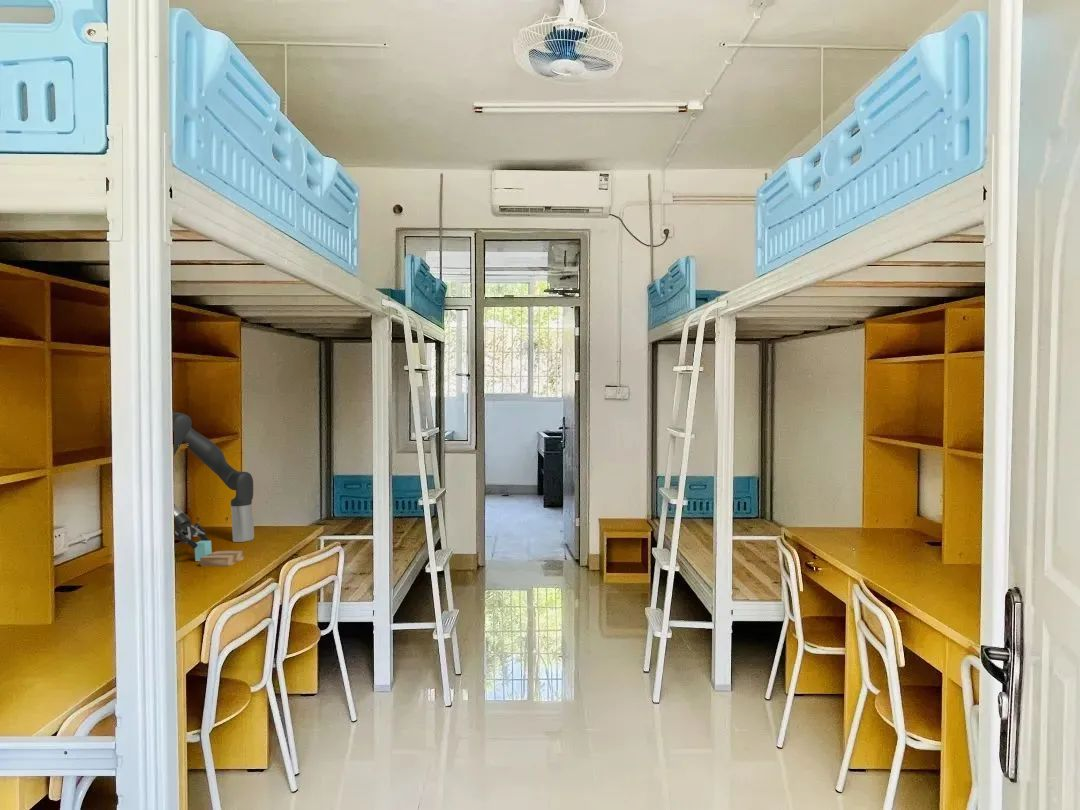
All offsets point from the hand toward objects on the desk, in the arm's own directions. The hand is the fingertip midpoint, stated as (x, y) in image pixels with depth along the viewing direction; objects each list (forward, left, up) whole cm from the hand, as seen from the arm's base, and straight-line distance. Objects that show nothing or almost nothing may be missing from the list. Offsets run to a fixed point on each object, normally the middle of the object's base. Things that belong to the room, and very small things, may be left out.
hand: (202, 544), depth 284 cm
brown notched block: (+4, +11, -7) cm, 14 cm away
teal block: (0, 0, -7) cm, 7 cm away
